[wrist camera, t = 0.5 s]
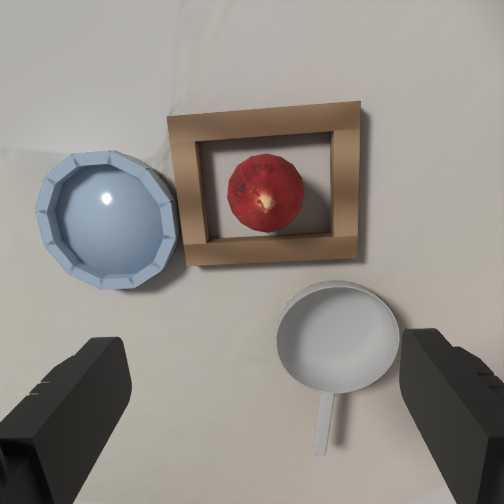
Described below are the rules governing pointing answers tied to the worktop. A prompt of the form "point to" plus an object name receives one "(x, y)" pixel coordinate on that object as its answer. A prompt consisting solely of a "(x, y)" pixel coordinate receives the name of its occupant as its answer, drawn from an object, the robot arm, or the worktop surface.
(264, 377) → the worktop surface
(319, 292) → the saucepan
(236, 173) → the onion
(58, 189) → the dish
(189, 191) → the frame
